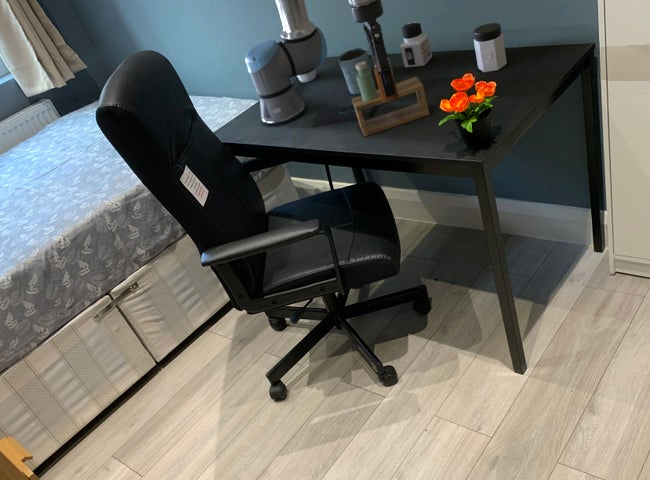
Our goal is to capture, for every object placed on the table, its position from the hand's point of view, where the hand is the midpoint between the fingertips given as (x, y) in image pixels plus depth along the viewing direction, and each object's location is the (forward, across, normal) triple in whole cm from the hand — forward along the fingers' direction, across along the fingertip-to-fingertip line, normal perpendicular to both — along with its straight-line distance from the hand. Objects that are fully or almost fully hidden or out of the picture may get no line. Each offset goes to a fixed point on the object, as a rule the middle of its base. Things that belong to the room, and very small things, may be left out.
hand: (388, 92), depth 167 cm
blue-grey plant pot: (+14, +48, +3) cm, 50 cm away
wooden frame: (+14, +14, -1) cm, 19 cm away
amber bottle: (+2, 0, 0) cm, 2 cm away
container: (+14, +55, -19) cm, 60 cm away
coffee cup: (+14, +77, +20) cm, 81 cm away
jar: (+14, +29, -37) cm, 49 cm away
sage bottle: (+5, +14, +4) cm, 15 cm away
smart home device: (+14, +30, +12) cm, 35 cm away
